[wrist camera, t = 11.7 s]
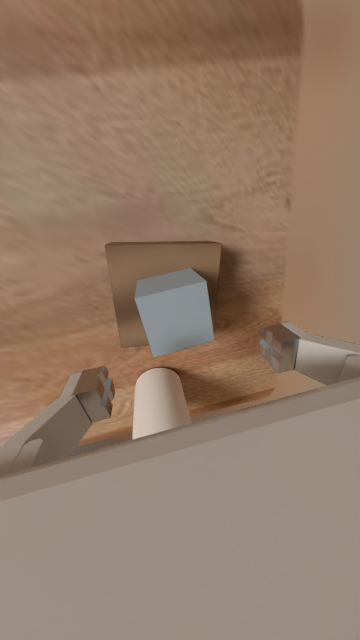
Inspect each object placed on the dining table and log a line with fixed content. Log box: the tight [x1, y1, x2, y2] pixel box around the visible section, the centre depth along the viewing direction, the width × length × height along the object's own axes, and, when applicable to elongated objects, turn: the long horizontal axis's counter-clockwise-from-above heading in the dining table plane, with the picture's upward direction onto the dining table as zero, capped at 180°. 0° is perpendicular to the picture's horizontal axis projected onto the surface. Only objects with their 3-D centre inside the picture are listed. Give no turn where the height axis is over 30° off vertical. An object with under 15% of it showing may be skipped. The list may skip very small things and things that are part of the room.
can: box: [133, 368, 191, 439], centre depth 22 cm, size 6×6×12 cm
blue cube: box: [135, 268, 214, 357], centre depth 16 cm, size 5×5×5 cm
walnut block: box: [105, 241, 222, 348], centre depth 20 cm, size 10×10×4 cm
